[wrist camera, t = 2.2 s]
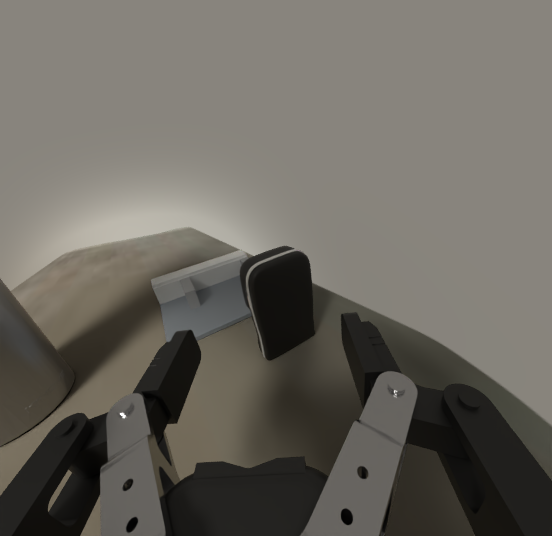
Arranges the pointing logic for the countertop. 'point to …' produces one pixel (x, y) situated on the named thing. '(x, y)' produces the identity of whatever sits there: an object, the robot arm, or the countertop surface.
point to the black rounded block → (279, 298)
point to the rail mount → (202, 296)
